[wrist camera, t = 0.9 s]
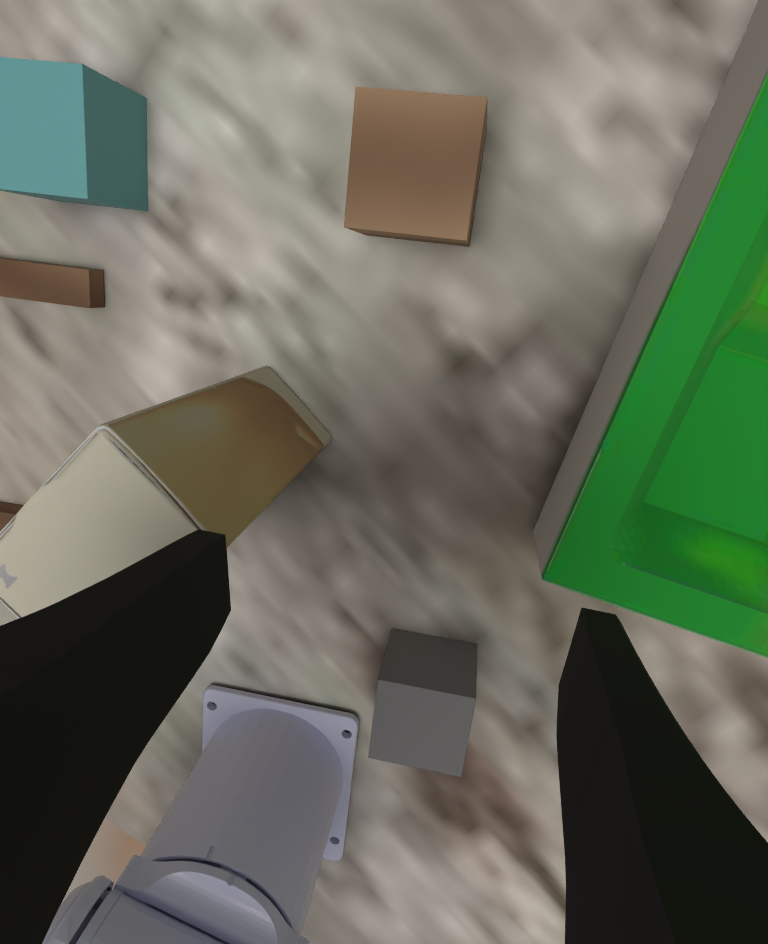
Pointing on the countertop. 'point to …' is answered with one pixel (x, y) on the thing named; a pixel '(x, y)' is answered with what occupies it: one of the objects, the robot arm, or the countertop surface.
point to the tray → (685, 402)
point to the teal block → (71, 135)
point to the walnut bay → (48, 287)
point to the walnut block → (415, 165)
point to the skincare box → (157, 485)
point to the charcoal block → (424, 702)
